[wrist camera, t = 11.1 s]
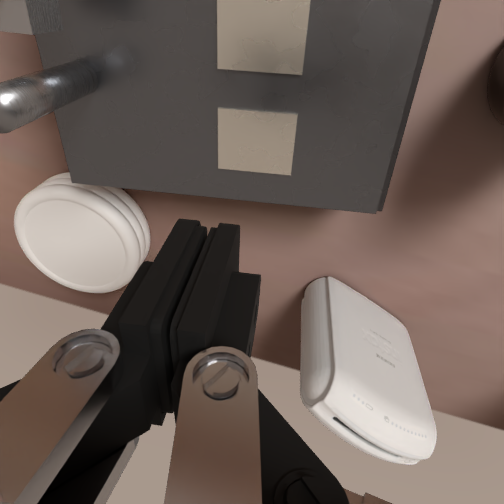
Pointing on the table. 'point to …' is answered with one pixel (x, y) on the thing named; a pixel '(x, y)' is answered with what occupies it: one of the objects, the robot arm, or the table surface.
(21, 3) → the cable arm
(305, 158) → the grey lever box
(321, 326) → the photo printer
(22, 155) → the table surface
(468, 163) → the table surface
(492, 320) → the table surface
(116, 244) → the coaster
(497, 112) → the supplement bottle
